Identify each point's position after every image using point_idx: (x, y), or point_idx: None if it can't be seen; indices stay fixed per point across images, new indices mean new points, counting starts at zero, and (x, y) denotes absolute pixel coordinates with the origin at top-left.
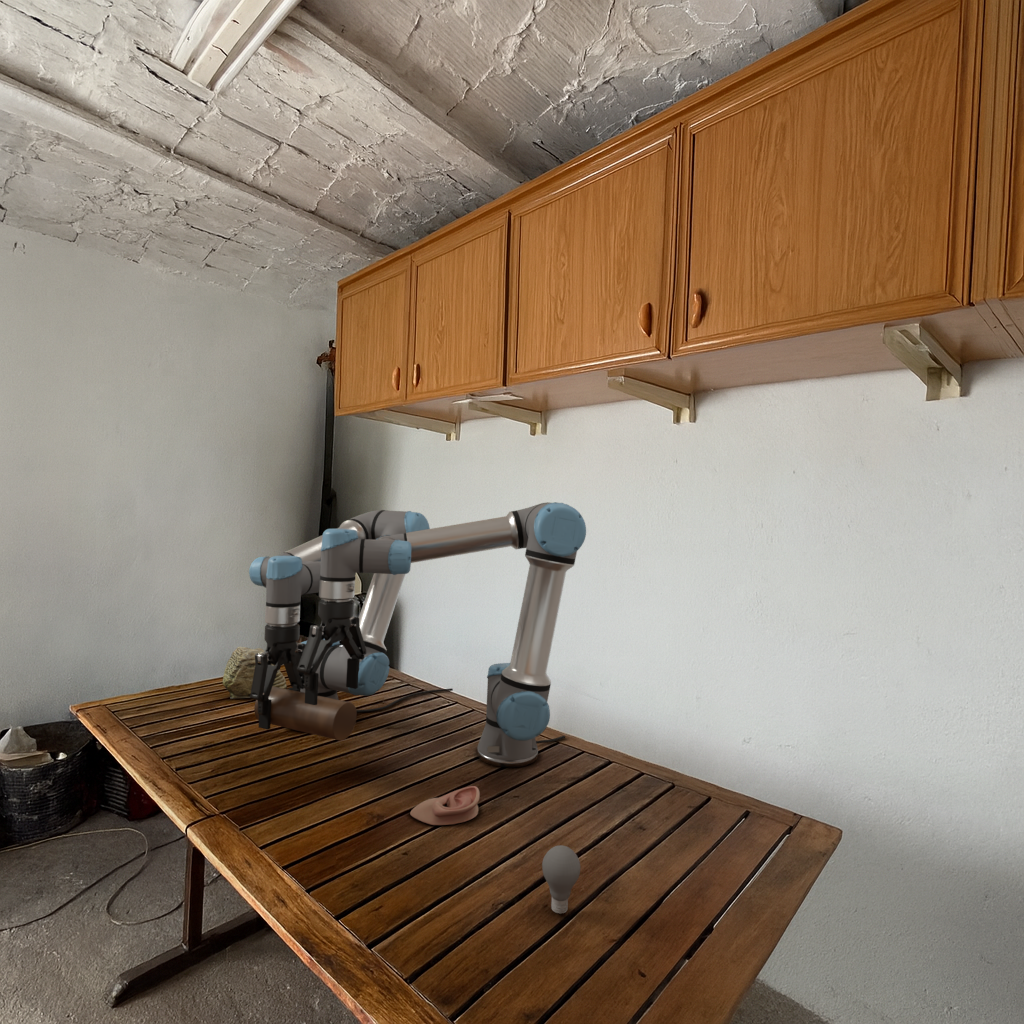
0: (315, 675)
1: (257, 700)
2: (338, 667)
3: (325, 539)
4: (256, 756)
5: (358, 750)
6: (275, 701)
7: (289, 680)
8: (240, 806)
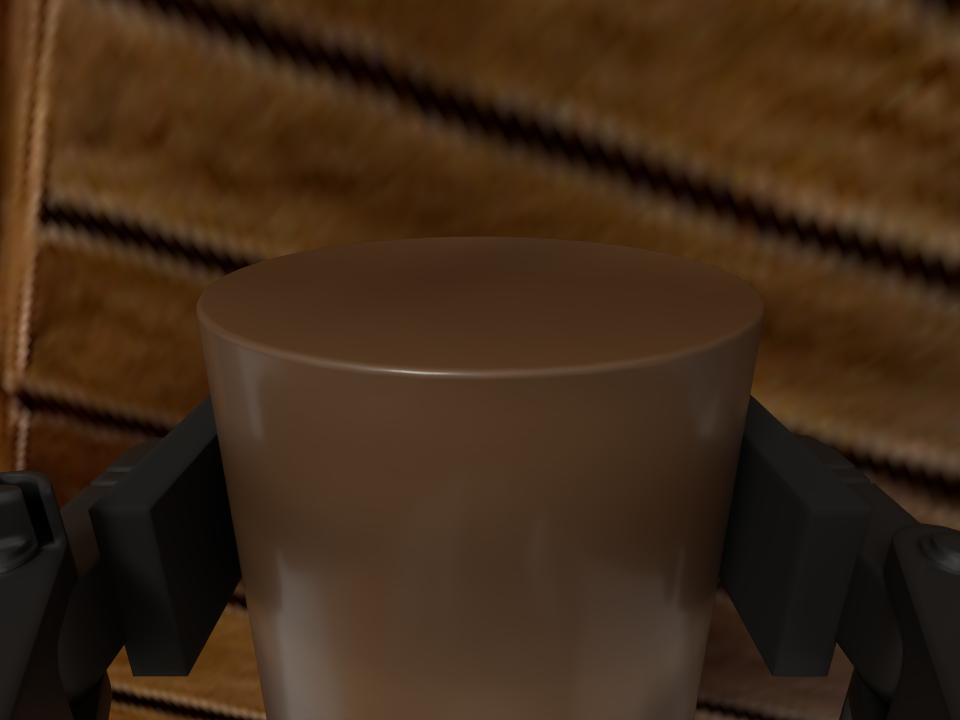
0: None
1: (202, 339)
2: None
3: None
4: (571, 16)
5: (873, 476)
6: (264, 667)
7: (920, 655)
8: (111, 421)
